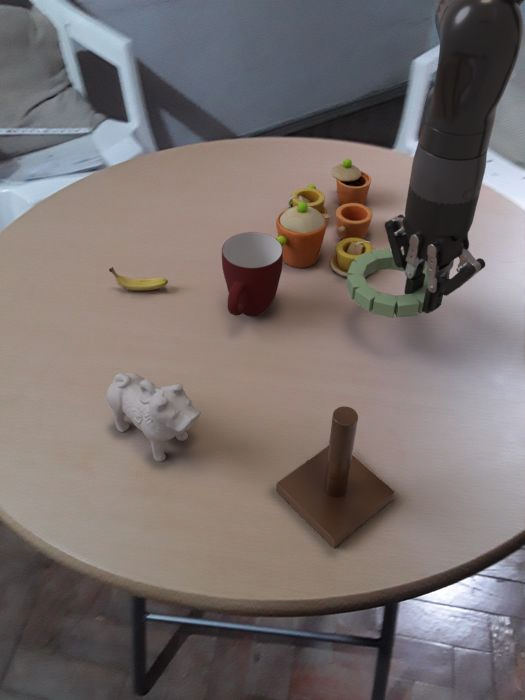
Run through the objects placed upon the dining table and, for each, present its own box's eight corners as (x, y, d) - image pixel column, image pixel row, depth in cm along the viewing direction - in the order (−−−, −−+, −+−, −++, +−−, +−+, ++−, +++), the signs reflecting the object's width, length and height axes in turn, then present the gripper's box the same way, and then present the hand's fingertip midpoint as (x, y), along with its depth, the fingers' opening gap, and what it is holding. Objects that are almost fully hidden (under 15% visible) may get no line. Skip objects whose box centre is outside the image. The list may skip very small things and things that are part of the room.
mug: (267, 343, 91) (267, 285, 84) (210, 331, 92) (206, 273, 85) (287, 294, 98) (289, 237, 91) (234, 284, 100) (232, 227, 93)
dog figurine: (183, 482, 75) (175, 421, 68) (105, 424, 81) (90, 362, 73) (215, 451, 78) (211, 390, 71) (138, 398, 84) (126, 336, 76)
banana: (111, 293, 98) (107, 271, 95) (113, 286, 99) (109, 264, 96) (168, 294, 98) (165, 272, 95) (169, 286, 99) (167, 264, 96)
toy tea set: (377, 286, 99) (386, 231, 93) (272, 279, 100) (273, 224, 94) (375, 191, 118) (382, 140, 111) (286, 186, 119) (288, 134, 112)
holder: (334, 448, 78) (345, 367, 69) (393, 499, 74) (413, 420, 64) (275, 491, 74) (278, 411, 65) (333, 548, 69) (345, 471, 60)
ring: (389, 250, 94) (390, 238, 92) (456, 290, 88) (459, 278, 86) (328, 285, 89) (329, 272, 87) (395, 330, 82) (398, 318, 81)
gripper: (520, 195, 71) (484, 319, 83) (418, 147, 79) (399, 267, 91) (476, 222, 68) (445, 347, 80) (374, 169, 75) (360, 290, 87)
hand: (421, 304), depth 85 cm, fingers closed on ring, 2 cm apart
